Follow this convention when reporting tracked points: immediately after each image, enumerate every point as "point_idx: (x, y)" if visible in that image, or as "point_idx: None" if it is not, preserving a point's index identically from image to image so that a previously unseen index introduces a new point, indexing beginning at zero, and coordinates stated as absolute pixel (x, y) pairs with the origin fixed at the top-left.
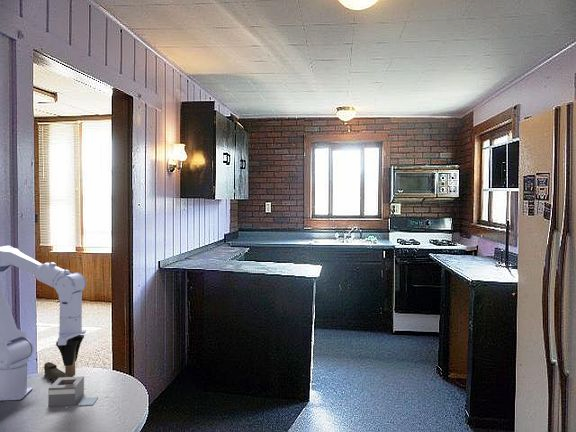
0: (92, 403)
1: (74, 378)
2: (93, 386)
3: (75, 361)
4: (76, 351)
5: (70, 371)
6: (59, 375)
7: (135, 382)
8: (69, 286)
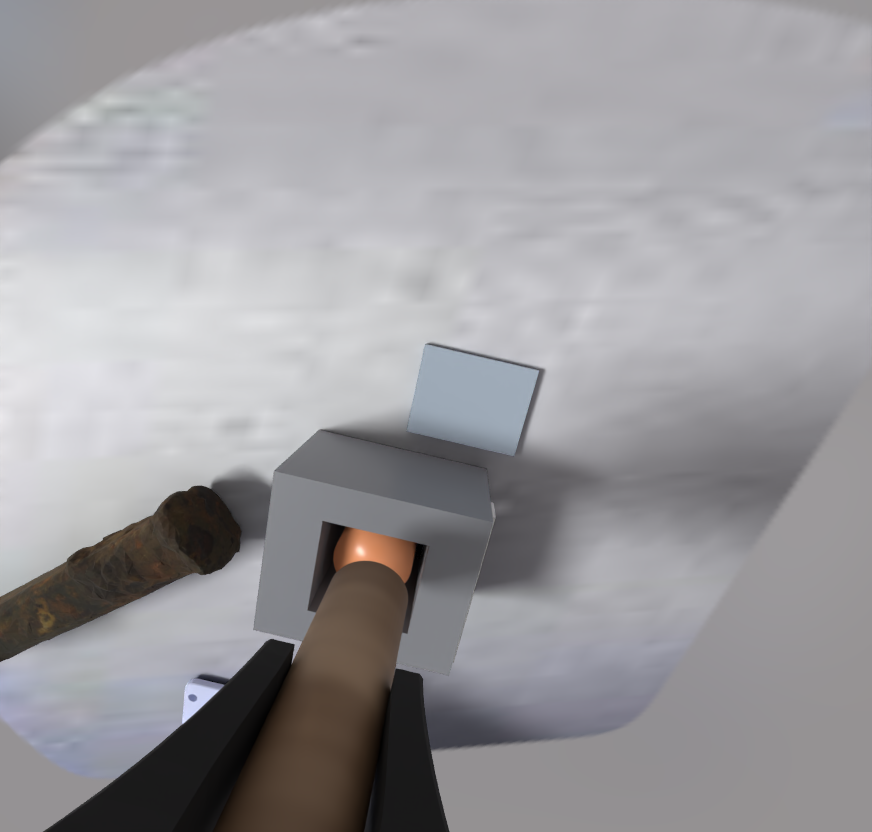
0: (522, 374)
1: (300, 534)
2: (211, 376)
3: (292, 645)
4: (223, 757)
5: (401, 627)
6: (114, 603)
7: (189, 59)
8: None
